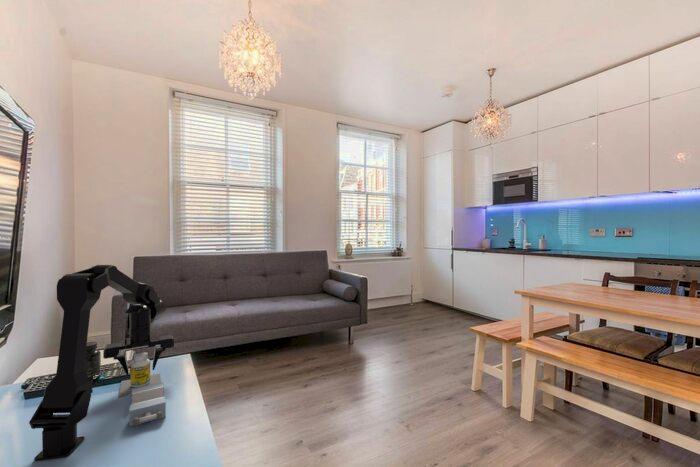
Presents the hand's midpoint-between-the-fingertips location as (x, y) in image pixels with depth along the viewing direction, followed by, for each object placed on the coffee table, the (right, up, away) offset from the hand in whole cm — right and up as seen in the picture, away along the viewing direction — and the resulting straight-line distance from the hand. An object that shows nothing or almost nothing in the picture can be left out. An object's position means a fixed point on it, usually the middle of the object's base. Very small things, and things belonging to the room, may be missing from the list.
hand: (140, 372), depth 104 cm
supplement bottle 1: (-20, -4, +4) cm, 21 cm away
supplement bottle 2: (0, -4, 0) cm, 4 cm away
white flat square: (0, -4, 0) cm, 4 cm away
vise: (+12, -4, -15) cm, 20 cm away
